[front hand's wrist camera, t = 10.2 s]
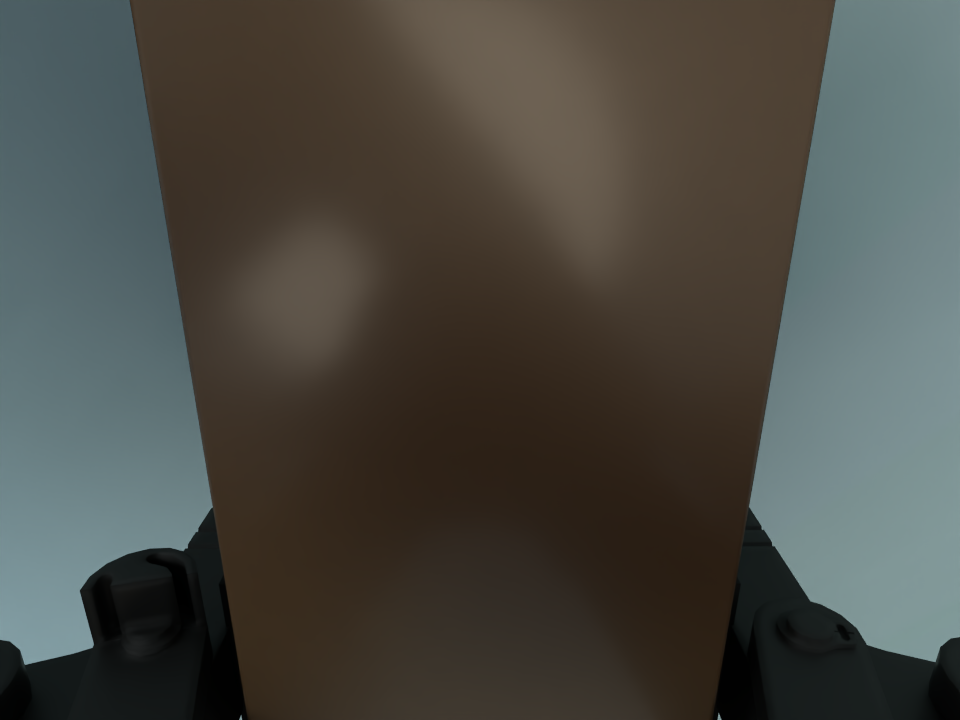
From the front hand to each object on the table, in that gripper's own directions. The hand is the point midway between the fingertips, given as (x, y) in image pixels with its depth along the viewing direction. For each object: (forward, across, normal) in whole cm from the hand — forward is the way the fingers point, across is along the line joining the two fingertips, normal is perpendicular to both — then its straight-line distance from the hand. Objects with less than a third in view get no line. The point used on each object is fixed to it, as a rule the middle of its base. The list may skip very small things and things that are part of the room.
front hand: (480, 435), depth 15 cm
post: (+1, 0, -27) cm, 27 cm away
